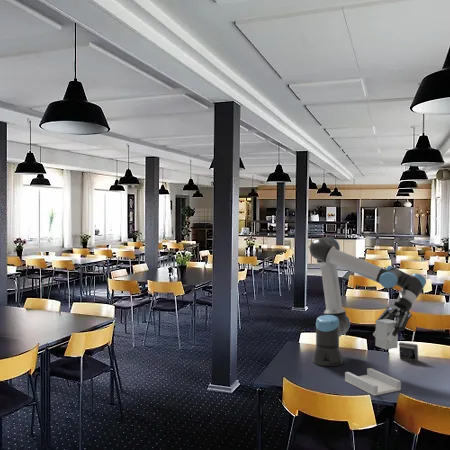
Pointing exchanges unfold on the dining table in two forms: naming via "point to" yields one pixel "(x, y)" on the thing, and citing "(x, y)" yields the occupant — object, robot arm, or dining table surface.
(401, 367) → the dining table surface
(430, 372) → the dining table surface
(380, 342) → the supplement box
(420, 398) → the dining table surface
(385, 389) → the tray
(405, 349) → the electrical switch
